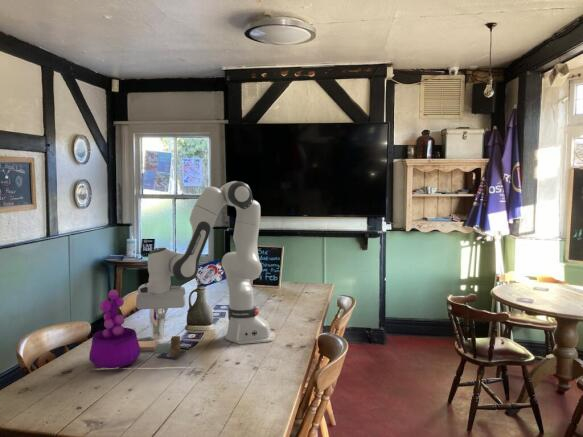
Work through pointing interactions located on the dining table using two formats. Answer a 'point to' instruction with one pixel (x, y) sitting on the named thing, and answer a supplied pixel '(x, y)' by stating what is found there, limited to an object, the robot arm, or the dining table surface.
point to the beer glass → (157, 324)
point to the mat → (159, 349)
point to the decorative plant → (114, 338)
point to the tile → (148, 345)
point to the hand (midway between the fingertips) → (161, 318)
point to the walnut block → (175, 346)
